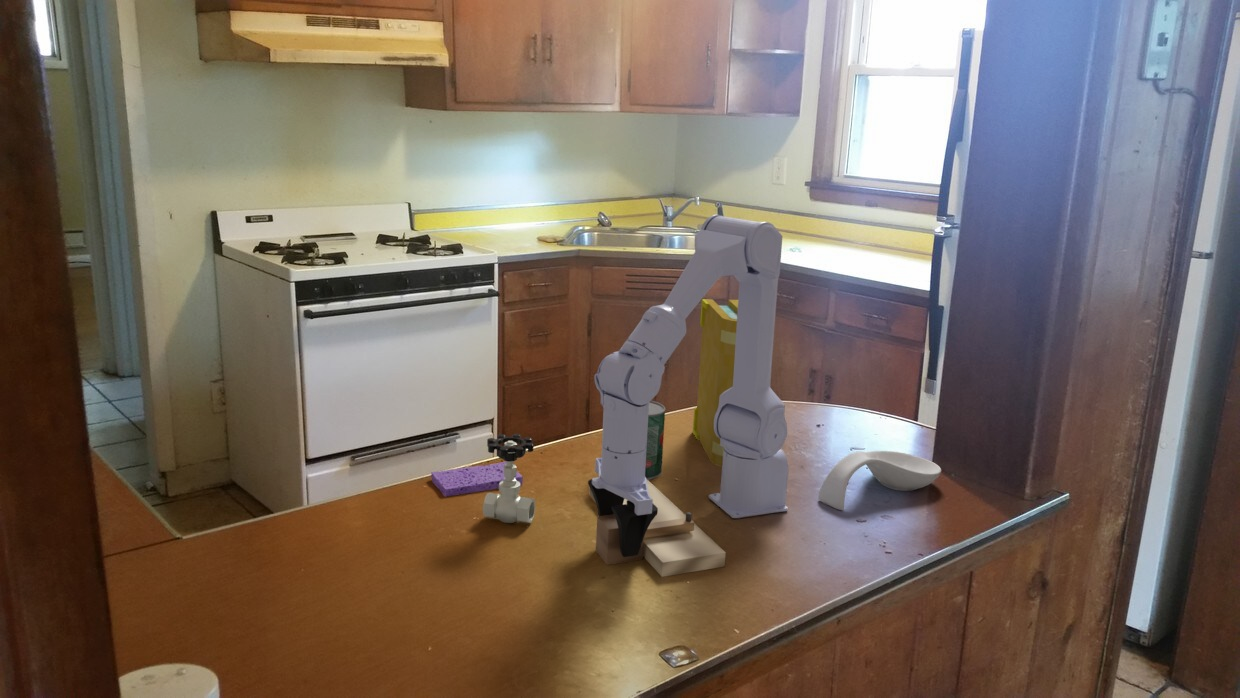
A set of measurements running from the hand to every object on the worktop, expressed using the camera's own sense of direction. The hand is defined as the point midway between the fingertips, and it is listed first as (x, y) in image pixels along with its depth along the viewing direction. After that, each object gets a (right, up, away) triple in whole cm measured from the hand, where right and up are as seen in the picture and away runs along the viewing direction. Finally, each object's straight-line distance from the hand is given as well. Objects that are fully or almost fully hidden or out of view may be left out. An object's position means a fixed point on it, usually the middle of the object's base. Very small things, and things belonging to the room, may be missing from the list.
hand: (619, 542), depth 121 cm
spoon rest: (+41, +2, +26) cm, 49 cm away
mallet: (+4, -2, +2) cm, 4 cm away
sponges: (-22, +4, +22) cm, 31 cm away
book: (+18, +8, +40) cm, 45 cm away
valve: (-16, +1, +9) cm, 18 cm away
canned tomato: (+3, +5, +29) cm, 30 cm away
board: (+5, 0, +9) cm, 10 cm away
